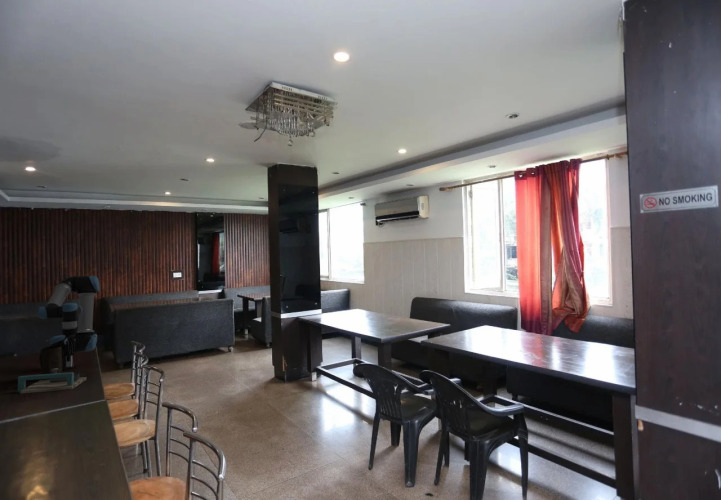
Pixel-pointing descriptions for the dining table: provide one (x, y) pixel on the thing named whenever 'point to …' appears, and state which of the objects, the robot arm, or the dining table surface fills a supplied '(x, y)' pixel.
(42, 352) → the beer stein
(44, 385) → the pivot plate
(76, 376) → the swing link
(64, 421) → the dining table surface
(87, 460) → the dining table surface
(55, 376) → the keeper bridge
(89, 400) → the dining table surface
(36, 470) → the dining table surface
